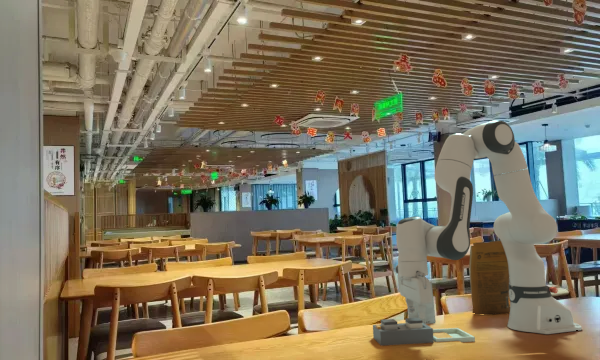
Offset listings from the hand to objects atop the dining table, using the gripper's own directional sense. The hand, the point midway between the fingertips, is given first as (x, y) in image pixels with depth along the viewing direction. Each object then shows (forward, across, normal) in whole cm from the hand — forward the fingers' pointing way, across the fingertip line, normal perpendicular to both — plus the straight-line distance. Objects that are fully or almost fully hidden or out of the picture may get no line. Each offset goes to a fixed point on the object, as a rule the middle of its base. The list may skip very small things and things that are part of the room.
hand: (416, 315), depth 145 cm
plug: (+7, 0, +1) cm, 7 cm away
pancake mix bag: (+10, +35, -42) cm, 56 cm away
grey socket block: (+8, 0, +5) cm, 9 cm away
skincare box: (+9, +26, -10) cm, 29 cm away
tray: (+8, +2, -10) cm, 13 cm away
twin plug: (+7, 0, +9) cm, 11 cm away
